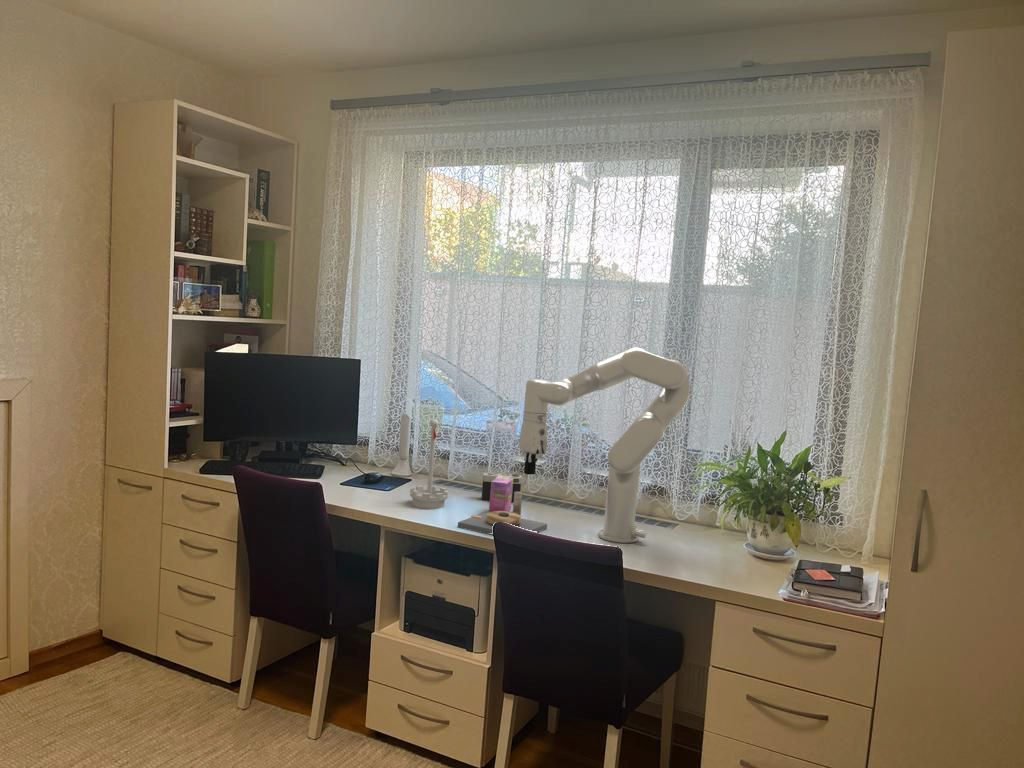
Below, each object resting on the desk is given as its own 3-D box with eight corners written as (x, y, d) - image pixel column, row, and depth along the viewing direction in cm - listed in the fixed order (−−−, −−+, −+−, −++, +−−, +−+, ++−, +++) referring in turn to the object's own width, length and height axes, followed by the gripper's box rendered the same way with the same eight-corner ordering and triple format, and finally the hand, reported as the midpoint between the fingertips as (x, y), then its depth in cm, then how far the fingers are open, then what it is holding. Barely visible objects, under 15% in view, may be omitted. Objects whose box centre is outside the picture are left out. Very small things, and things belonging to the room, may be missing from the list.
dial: (510, 528, 248) (512, 502, 248) (479, 521, 254) (481, 496, 253) (533, 518, 262) (535, 494, 262) (503, 512, 268) (505, 489, 267)
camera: (481, 503, 288) (483, 475, 287) (481, 497, 296) (483, 471, 295) (520, 505, 288) (522, 478, 288) (519, 500, 297) (521, 473, 296)
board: (549, 527, 261) (549, 521, 261) (519, 540, 243) (519, 534, 242) (489, 514, 272) (489, 509, 271) (456, 526, 253) (456, 520, 253)
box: (504, 517, 269) (507, 483, 268) (488, 515, 270) (490, 481, 269) (511, 511, 279) (513, 477, 278) (495, 509, 280) (497, 475, 279)
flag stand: (406, 500, 283) (411, 416, 281) (442, 500, 287) (448, 417, 285) (413, 509, 271) (419, 421, 268) (451, 509, 275) (457, 422, 272)
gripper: (557, 421, 254) (551, 478, 255) (531, 414, 266) (526, 468, 268) (537, 421, 250) (532, 479, 251) (512, 413, 262) (507, 469, 264)
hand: (529, 473), depth 259 cm, fingers closed
